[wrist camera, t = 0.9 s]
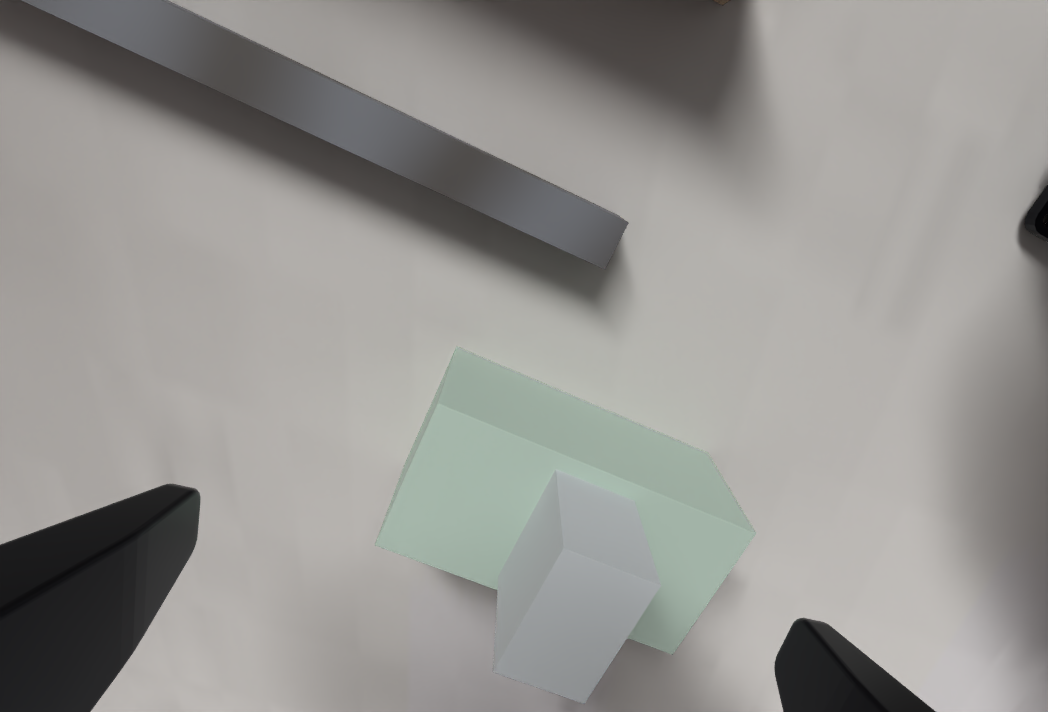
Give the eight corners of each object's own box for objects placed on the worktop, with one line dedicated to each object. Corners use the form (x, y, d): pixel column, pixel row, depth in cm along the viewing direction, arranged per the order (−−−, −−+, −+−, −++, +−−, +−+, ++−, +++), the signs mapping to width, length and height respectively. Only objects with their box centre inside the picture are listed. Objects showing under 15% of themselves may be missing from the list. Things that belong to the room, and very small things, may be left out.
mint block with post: (706, 451, 22) (810, 623, 14) (642, 553, 24) (704, 761, 16) (457, 345, 21) (416, 469, 13) (405, 461, 22) (340, 637, 14)
